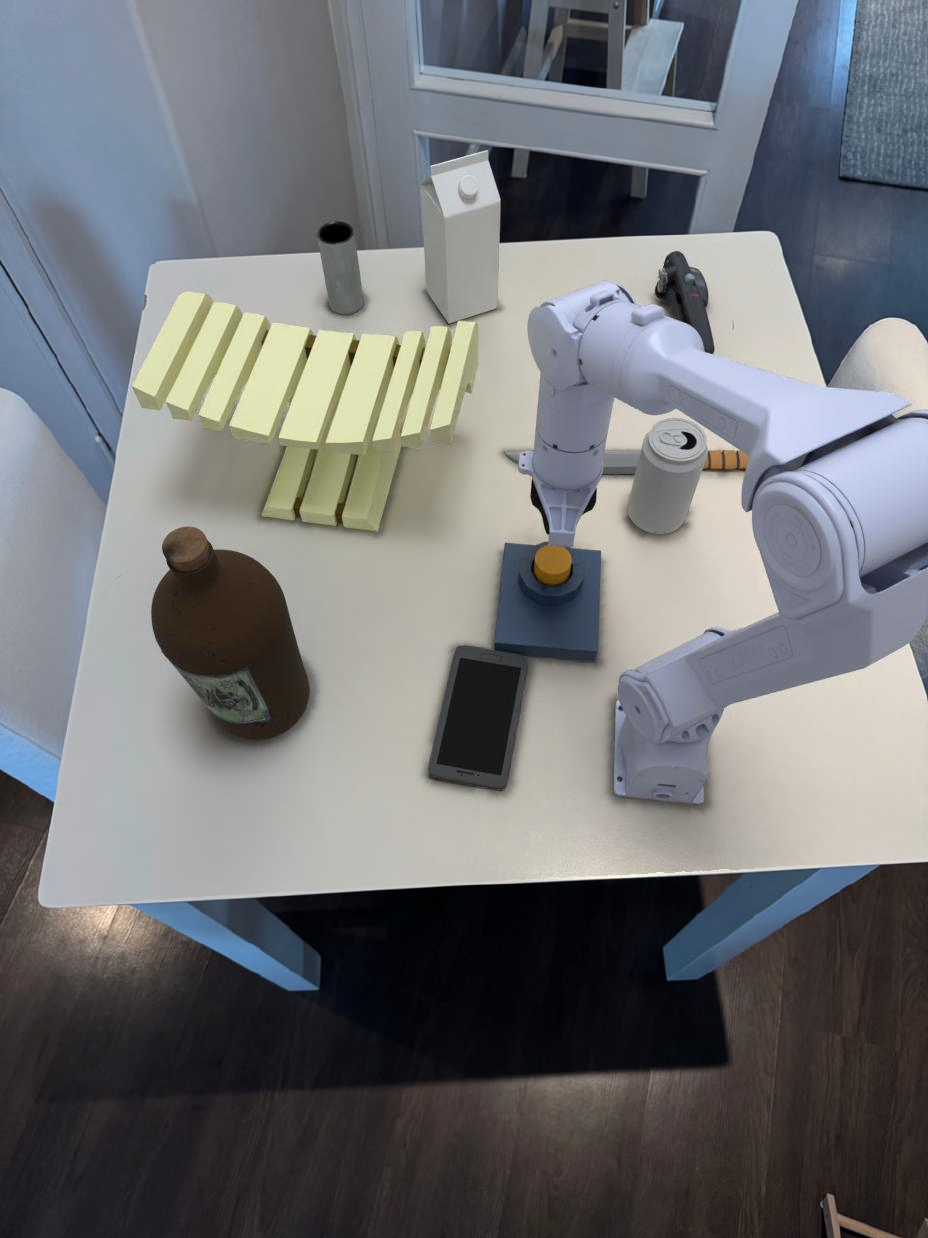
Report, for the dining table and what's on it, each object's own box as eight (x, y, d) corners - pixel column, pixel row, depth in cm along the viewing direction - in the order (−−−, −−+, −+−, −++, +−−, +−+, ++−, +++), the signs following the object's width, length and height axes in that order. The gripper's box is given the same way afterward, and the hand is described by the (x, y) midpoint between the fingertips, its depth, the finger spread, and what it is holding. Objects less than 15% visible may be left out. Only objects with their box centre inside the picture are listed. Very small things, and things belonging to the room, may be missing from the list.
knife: (504, 476, 94) (504, 441, 96) (504, 483, 95) (504, 448, 97) (778, 475, 92) (771, 439, 95) (775, 482, 93) (768, 447, 96)
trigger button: (568, 587, 83) (571, 575, 81) (532, 584, 83) (533, 572, 81) (570, 557, 84) (572, 545, 83) (535, 554, 85) (536, 542, 83)
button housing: (595, 662, 82) (600, 642, 79) (494, 653, 83) (494, 633, 79) (598, 562, 88) (603, 539, 85) (504, 554, 89) (505, 531, 86)
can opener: (646, 281, 111) (653, 243, 107) (698, 278, 112) (708, 240, 107) (670, 375, 102) (680, 338, 97) (727, 372, 102) (739, 336, 98)
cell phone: (529, 658, 82) (529, 655, 82) (505, 792, 75) (506, 789, 75) (456, 646, 83) (456, 642, 83) (426, 777, 76) (425, 775, 76)
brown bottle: (229, 638, 84) (145, 474, 63) (330, 658, 83) (279, 498, 61) (189, 734, 79) (81, 591, 57) (295, 757, 78) (226, 620, 56)
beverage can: (682, 542, 90) (709, 467, 79) (622, 532, 90) (641, 457, 80) (686, 496, 93) (713, 418, 82) (628, 487, 93) (647, 409, 83)
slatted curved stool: (477, 432, 98) (478, 306, 83) (454, 541, 90) (450, 423, 75) (232, 403, 101) (188, 275, 85) (188, 506, 93) (131, 385, 77)
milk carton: (426, 292, 111) (417, 149, 94) (474, 276, 112) (474, 134, 96) (448, 325, 107) (443, 183, 91) (497, 308, 109) (502, 166, 93)
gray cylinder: (322, 308, 109) (309, 237, 100) (341, 287, 111) (329, 216, 103) (352, 318, 108) (341, 247, 99) (370, 298, 110) (361, 226, 101)
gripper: (527, 358, 70) (520, 466, 82) (514, 493, 63) (508, 591, 74) (612, 363, 69) (592, 472, 81) (609, 500, 62) (587, 598, 74)
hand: (557, 529), depth 78 cm, fingers closed
